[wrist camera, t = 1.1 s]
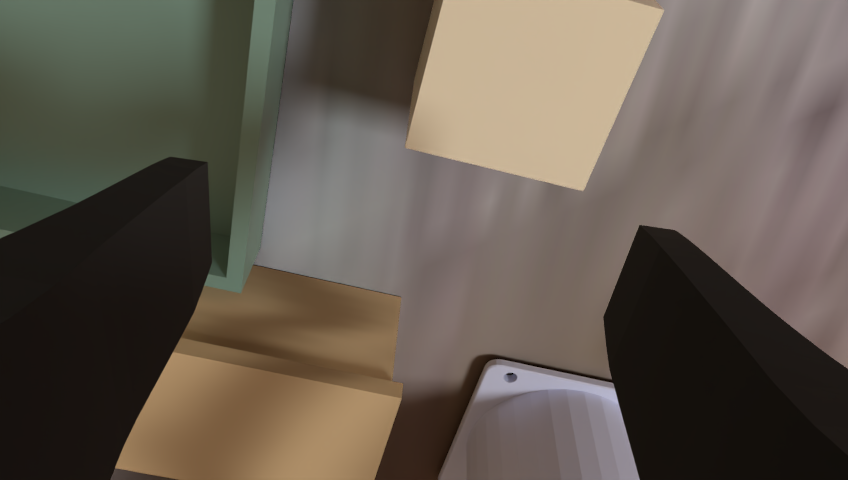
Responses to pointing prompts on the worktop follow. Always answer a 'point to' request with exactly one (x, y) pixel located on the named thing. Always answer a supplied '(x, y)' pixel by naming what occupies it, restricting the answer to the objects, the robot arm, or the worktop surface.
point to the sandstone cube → (527, 82)
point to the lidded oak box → (274, 385)
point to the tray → (142, 107)
